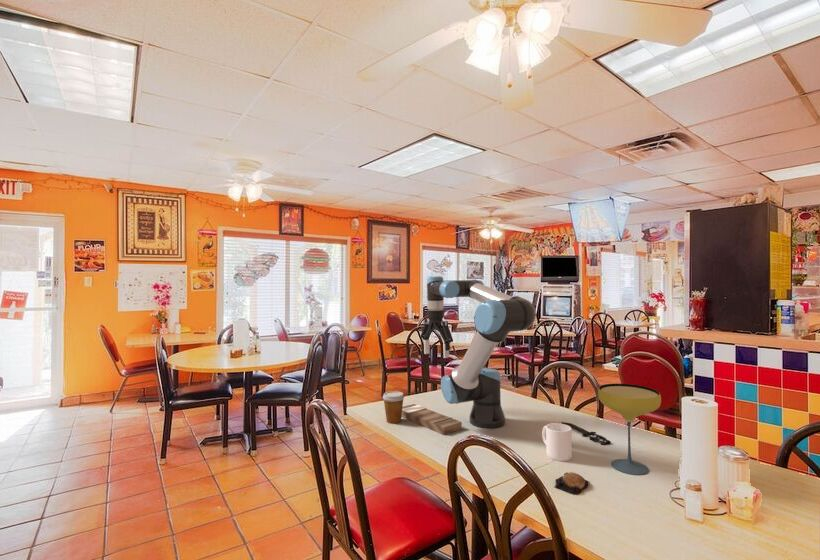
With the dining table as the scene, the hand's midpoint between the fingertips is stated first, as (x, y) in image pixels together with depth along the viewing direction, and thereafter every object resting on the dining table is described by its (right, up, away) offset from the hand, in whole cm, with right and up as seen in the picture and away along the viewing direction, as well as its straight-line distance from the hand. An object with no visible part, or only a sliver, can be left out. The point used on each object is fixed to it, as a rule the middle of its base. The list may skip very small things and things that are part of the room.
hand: (436, 355), depth 190 cm
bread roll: (+36, -27, -67) cm, 81 cm away
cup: (+39, -26, -46) cm, 66 cm away
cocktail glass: (+59, -26, -57) cm, 86 cm away
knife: (+56, -27, -27) cm, 68 cm away
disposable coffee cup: (-19, -27, -10) cm, 35 cm away
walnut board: (-5, -27, -11) cm, 29 cm away
